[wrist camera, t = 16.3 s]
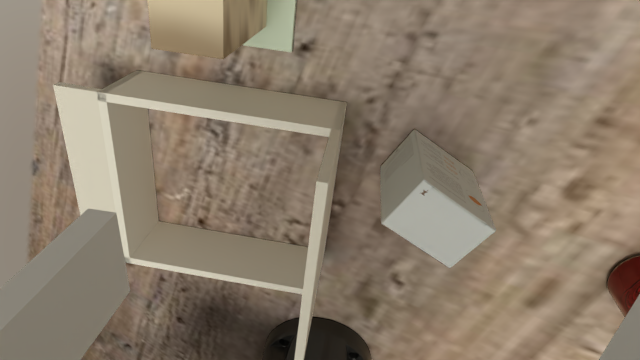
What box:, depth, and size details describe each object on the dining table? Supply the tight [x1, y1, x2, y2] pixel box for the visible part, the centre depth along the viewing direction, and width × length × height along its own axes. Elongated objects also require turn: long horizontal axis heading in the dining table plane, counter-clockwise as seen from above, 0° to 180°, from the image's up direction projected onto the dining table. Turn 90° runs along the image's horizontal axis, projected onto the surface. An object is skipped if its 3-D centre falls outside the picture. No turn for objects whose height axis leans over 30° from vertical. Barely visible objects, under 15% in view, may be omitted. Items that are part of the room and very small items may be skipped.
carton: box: [53, 70, 347, 360], centre depth 41 cm, size 20×26×16 cm
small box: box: [380, 129, 496, 268], centre depth 40 cm, size 8×6×10 cm
